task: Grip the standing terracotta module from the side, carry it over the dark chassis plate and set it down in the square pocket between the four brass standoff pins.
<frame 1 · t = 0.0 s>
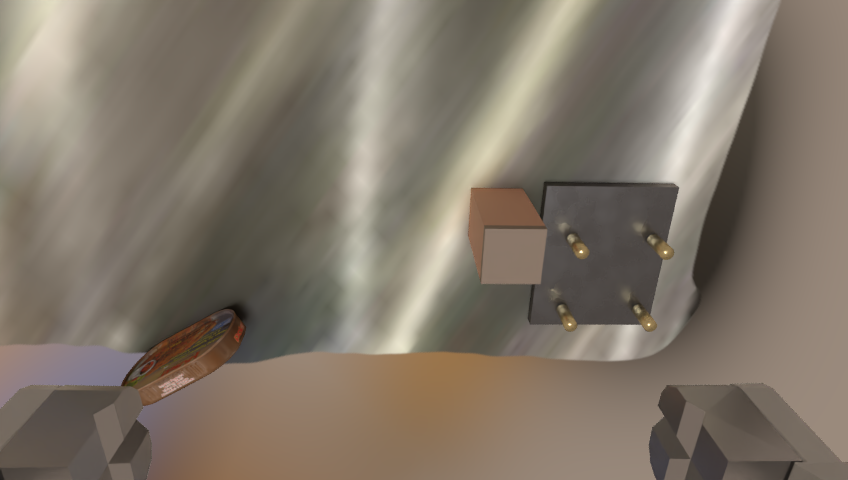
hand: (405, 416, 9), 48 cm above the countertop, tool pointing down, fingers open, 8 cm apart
tin: (198, 334, 64), on the countertop
chassis: (597, 254, 62), on the countertop
module: (494, 212, 59), on the countertop
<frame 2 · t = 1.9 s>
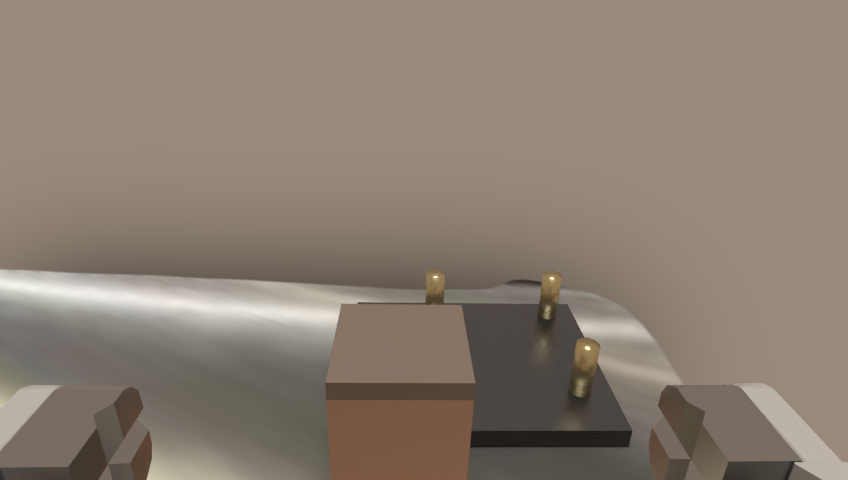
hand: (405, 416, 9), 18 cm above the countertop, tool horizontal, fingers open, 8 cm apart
chassis: (471, 370, 38), on the countertop
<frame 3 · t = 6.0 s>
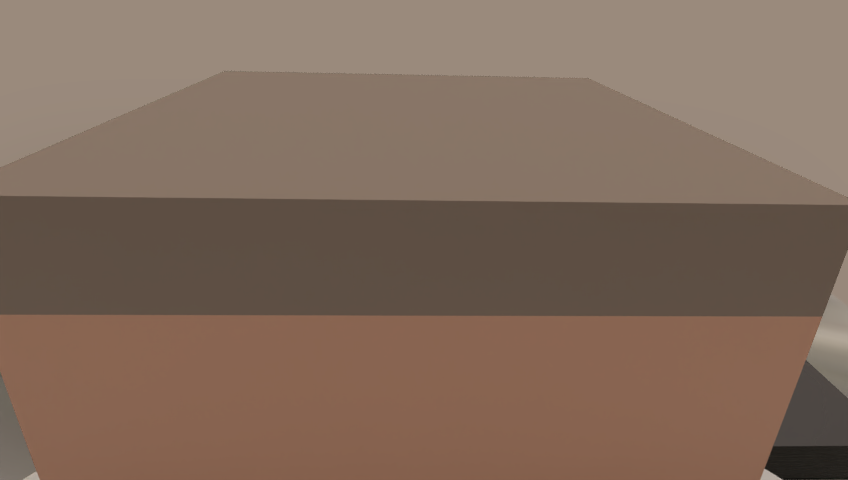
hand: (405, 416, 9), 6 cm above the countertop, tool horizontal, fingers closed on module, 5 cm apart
chassis: (531, 335, 21), on the countertop
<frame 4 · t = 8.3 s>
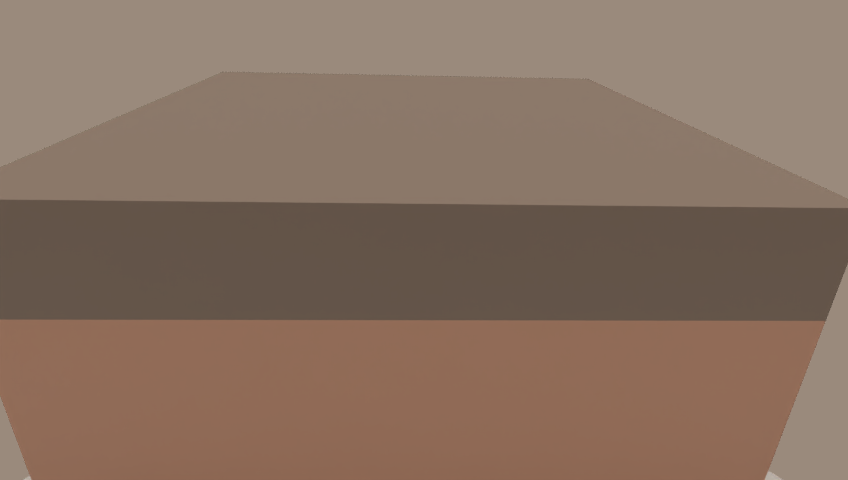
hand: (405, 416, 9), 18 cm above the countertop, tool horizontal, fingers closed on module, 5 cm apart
when the fingers open (9 cm above the countertop, at t = 10.8 s): module drops 1 cm, resting on chassis.
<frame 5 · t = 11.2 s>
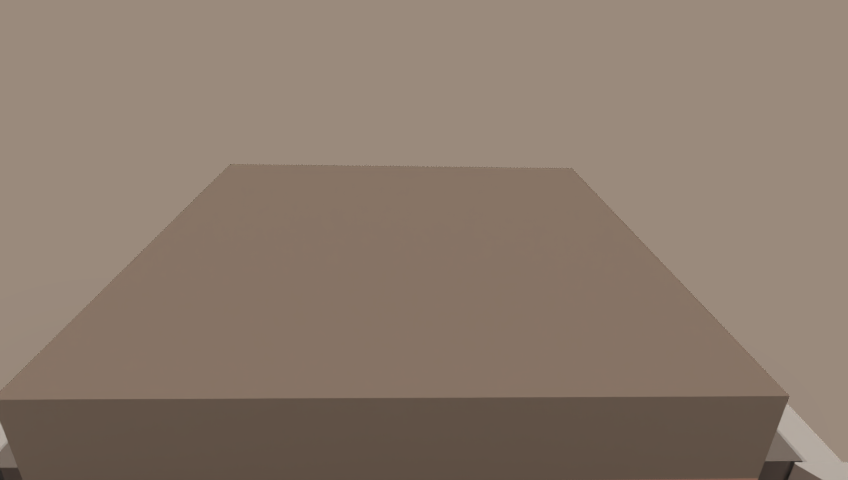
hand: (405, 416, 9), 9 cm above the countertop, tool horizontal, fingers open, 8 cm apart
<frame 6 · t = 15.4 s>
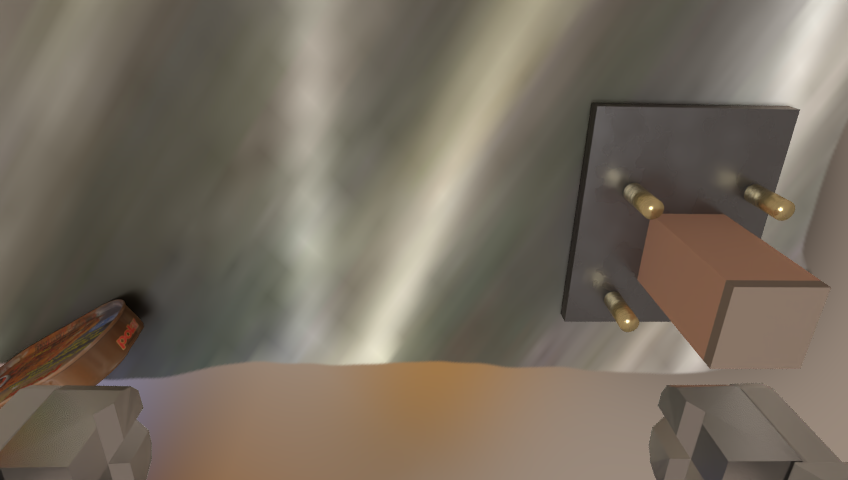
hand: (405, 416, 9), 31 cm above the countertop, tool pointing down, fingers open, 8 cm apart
tin: (82, 337, 44), on the countertop
chassis: (665, 217, 41), on the countertop
module: (679, 247, 41), point 1 cm above the countertop, touching chassis
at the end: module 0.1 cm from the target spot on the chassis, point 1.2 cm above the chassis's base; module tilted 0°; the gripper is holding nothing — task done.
